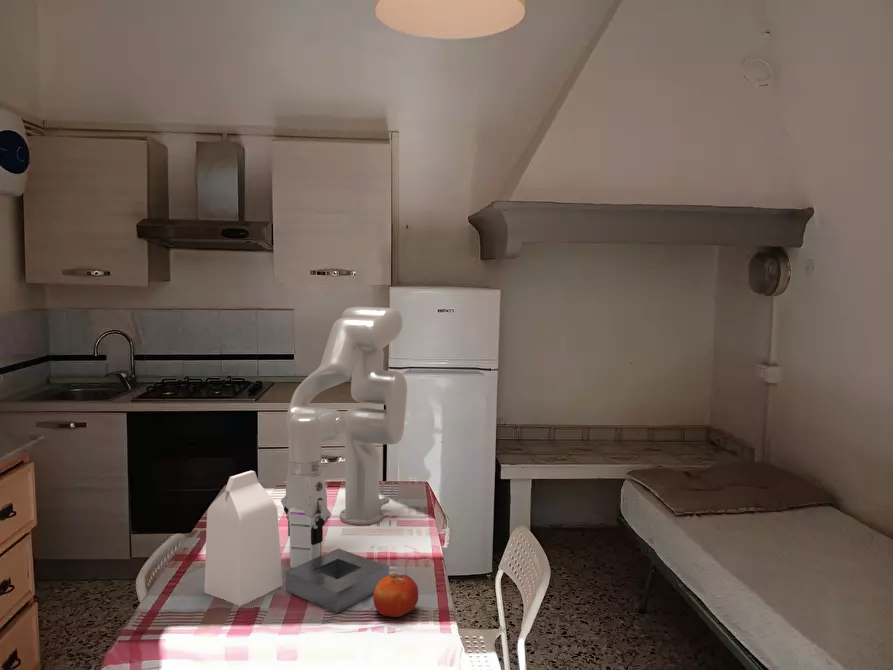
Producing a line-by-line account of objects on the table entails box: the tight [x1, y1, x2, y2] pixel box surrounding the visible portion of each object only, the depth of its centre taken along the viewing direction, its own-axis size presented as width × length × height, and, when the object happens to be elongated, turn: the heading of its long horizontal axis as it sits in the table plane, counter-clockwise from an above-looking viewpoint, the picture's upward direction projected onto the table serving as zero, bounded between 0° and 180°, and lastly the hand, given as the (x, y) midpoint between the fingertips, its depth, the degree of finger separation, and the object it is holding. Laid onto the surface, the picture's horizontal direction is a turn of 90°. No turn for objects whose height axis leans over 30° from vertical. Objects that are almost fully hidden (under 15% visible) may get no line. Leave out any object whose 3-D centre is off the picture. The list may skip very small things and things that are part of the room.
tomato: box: [372, 573, 419, 618], centre depth 143 cm, size 9×9×8 cm
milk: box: [203, 470, 284, 605], centre depth 151 cm, size 12×12×26 cm
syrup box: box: [289, 507, 322, 569], centre depth 165 cm, size 6×6×14 cm
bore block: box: [285, 547, 390, 614], centre depth 153 cm, size 16×16×4 cm
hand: (305, 538), depth 165 cm, fingers closed on syrup box, 7 cm apart
